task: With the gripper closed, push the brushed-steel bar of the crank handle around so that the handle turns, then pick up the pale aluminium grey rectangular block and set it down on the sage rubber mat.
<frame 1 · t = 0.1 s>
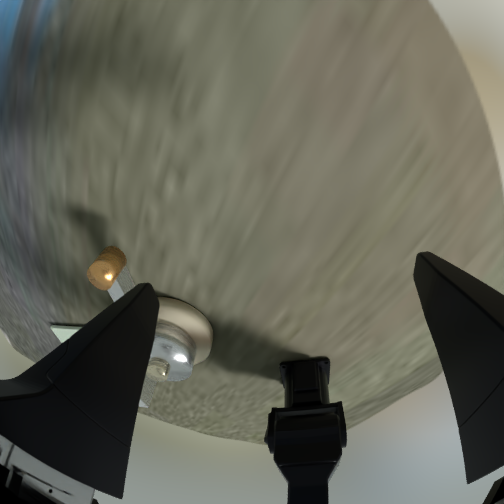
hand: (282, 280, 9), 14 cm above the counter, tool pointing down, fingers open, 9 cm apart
grey rectangular block: (142, 367, 38), on the counter
mat: (90, 352, 38), on the counter
crank handle: (141, 327, 26), point 5 cm above the counter, hinge at 0.0°
chuck base: (172, 328, 32), on the counter
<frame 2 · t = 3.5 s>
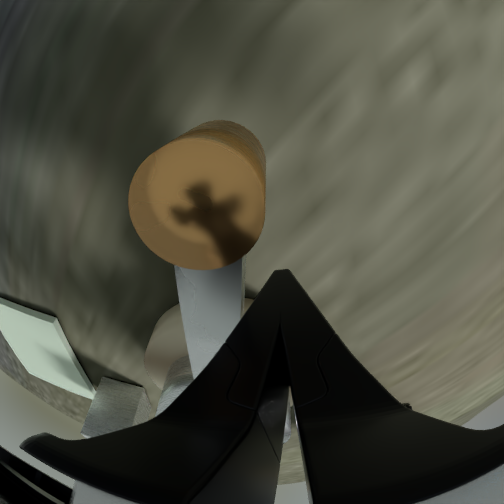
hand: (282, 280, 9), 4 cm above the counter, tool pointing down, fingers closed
grey rectangular block: (127, 393, 21), on the counter
mat: (40, 349, 20), on the counter
crank handle: (218, 373, 10), point 5 cm above the counter, hinge at 4.1°, touching gripper
chuck base: (231, 355, 17), on the counter
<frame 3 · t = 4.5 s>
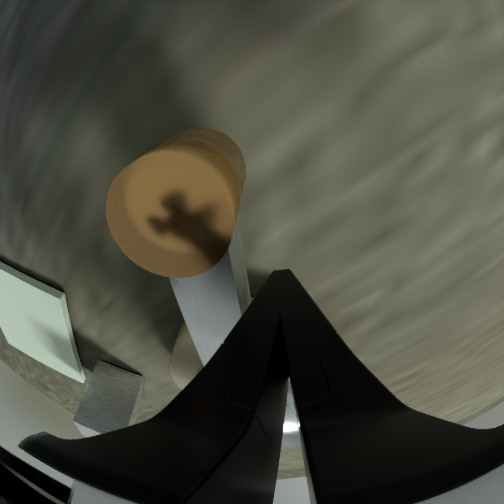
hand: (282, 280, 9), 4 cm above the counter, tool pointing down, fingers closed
grey rectangular block: (121, 379, 20), on the counter
mat: (29, 322, 18), on the counter
crank handle: (237, 376, 10), point 5 cm above the counter, hinge at 25.3°, touching gripper
chuck base: (256, 356, 17), on the counter
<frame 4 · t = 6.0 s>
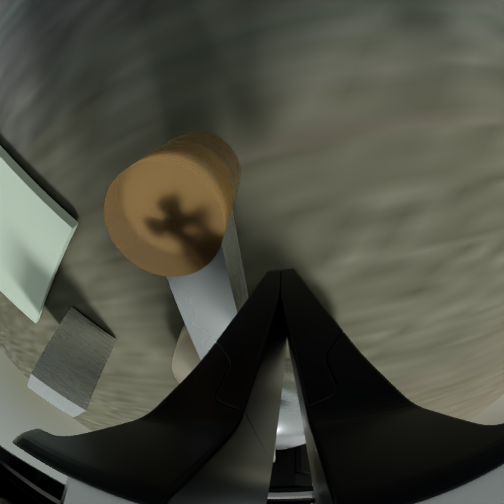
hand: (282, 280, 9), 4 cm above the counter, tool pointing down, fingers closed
grey rectangular block: (86, 333, 18), on the counter
mat: (4, 235, 13), on the counter
crank handle: (236, 374, 10), point 5 cm above the counter, hinge at 52.1°
chuck base: (257, 355, 17), on the counter
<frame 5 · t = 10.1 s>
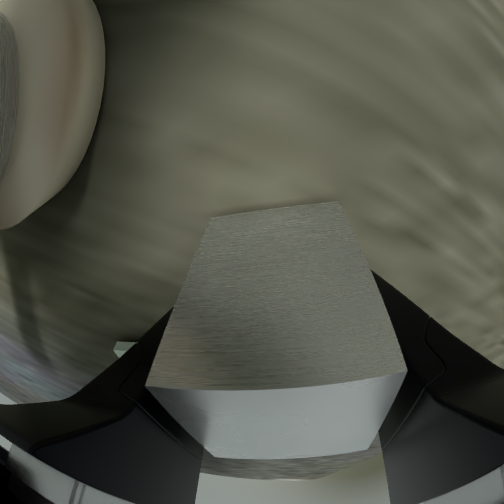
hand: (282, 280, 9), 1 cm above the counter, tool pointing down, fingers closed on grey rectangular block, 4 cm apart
grey rectangular block: (282, 261, 10), on the counter, touching gripper
chuck base: (10, 94, 6), on the counter
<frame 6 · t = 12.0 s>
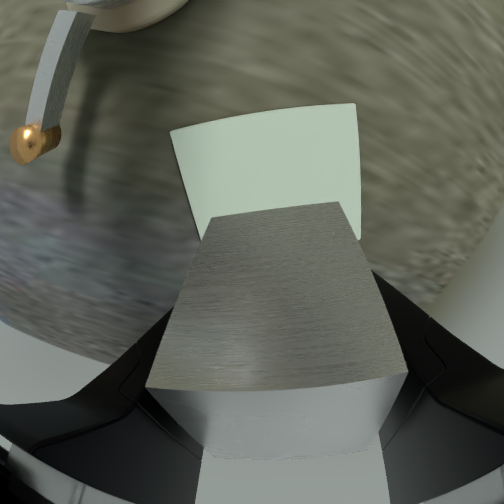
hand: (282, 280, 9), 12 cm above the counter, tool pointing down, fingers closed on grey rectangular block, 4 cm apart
grey rectangular block: (282, 262, 10), point 11 cm above the counter, touching gripper
mat: (273, 182, 19), on the counter
crank handle: (67, 28, 9), point 5 cm above the counter, hinge at 52.1°
when the fingers open (3 cm above the counter, at t = 13.9 s): grey rectangular block drops 2 cm, resting on mat.
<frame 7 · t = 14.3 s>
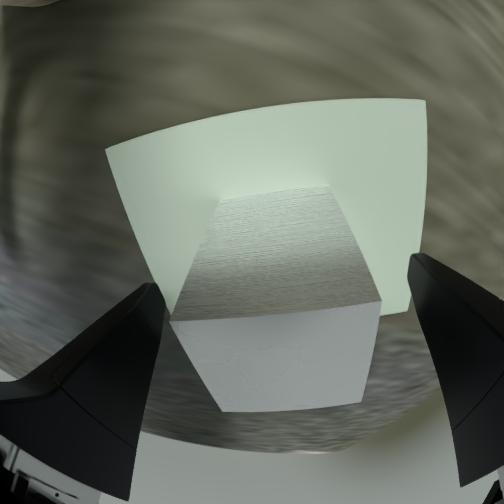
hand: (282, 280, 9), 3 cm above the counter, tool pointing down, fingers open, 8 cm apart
grey rectangular block: (281, 239, 11), point 1 cm above the counter, touching mat
mat: (280, 232, 12), on the counter
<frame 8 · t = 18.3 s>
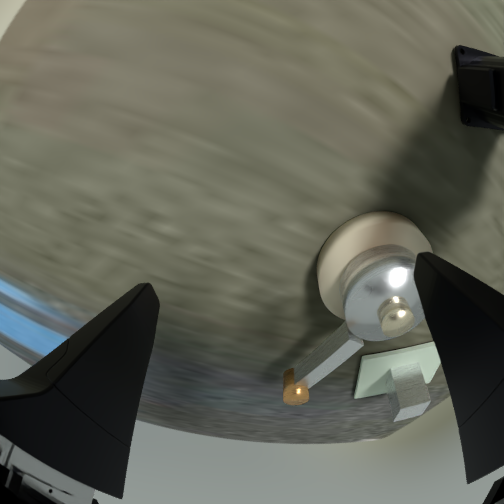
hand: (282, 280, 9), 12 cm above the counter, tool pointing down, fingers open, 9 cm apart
grey rectangular block: (401, 373, 30), point 1 cm above the counter, touching mat
mat: (400, 369, 31), on the counter
crank handle: (346, 343, 21), point 5 cm above the counter, hinge at 52.1°
chuck base: (373, 265, 22), on the counter
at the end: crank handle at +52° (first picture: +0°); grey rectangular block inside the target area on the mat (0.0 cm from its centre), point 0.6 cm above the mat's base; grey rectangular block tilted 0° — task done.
